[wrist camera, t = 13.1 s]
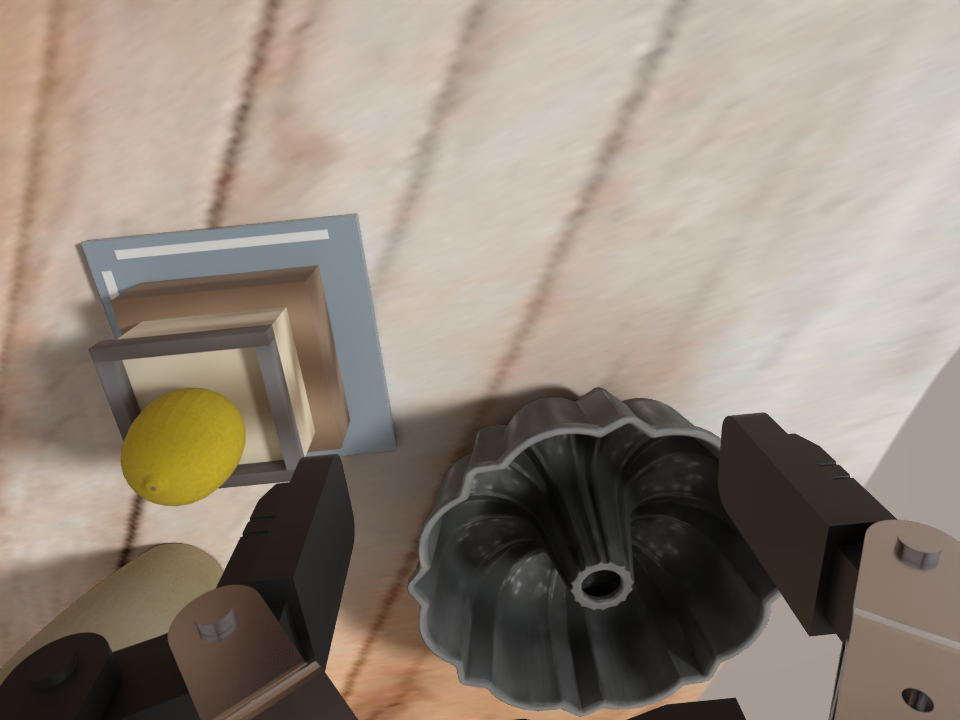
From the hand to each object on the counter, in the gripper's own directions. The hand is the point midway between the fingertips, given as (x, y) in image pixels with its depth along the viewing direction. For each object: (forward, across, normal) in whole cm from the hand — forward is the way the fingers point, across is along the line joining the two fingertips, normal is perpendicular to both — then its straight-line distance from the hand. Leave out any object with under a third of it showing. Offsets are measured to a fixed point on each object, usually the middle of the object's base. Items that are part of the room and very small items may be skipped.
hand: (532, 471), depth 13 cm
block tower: (+30, +17, +8) cm, 35 cm away
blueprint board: (+30, +17, +8) cm, 35 cm away
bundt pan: (+30, -6, +24) cm, 39 cm away
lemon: (+22, +17, +8) cm, 28 cm away
